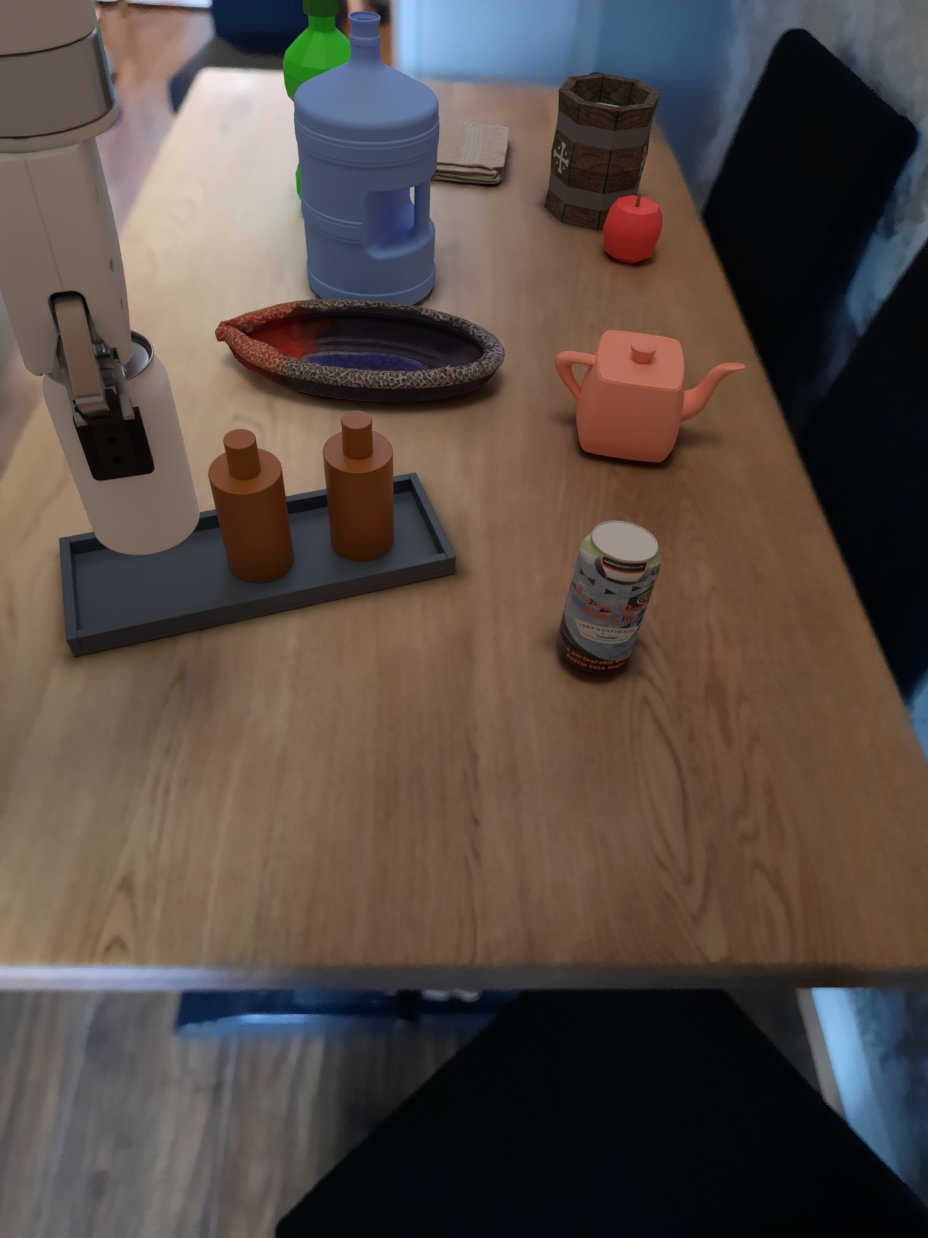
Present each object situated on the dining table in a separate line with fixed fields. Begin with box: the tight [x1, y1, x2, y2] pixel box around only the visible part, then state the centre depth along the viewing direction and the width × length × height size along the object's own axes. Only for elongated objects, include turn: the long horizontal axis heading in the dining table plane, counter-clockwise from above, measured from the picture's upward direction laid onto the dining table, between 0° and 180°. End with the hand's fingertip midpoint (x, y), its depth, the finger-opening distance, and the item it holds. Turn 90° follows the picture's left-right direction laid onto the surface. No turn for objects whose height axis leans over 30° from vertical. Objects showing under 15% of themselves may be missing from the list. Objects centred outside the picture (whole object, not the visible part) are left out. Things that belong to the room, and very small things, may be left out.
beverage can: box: [556, 520, 662, 674], centre depth 66 cm, size 6×7×12 cm
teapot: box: [554, 329, 746, 463], centre depth 85 cm, size 12×18×10 cm, turn 81°
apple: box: [602, 193, 664, 265], centre depth 111 cm, size 8×8×8 cm
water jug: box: [293, 10, 441, 306], centre depth 95 cm, size 16×16×28 cm
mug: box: [543, 71, 661, 231], centre depth 119 cm, size 20×14×15 cm
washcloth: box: [431, 121, 510, 185], centre depth 130 cm, size 12×18×3 cm, turn 176°
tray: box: [58, 472, 457, 657], centre depth 73 cm, size 32×12×2 cm, turn 109°
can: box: [41, 329, 201, 556], centre depth 49 cm, size 6×6×12 cm
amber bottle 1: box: [207, 428, 294, 583], centre depth 69 cm, size 6×6×13 cm
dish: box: [214, 298, 506, 403], centre depth 92 cm, size 16×31×5 cm, turn 84°
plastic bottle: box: [282, 0, 351, 201], centre depth 108 cm, size 10×10×25 cm
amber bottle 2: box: [322, 410, 394, 562], centre depth 71 cm, size 6×6×13 cm
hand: (120, 431), depth 48 cm, fingers closed on can, 6 cm apart
